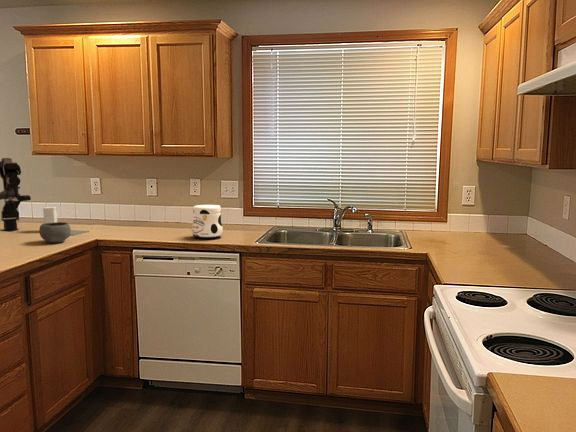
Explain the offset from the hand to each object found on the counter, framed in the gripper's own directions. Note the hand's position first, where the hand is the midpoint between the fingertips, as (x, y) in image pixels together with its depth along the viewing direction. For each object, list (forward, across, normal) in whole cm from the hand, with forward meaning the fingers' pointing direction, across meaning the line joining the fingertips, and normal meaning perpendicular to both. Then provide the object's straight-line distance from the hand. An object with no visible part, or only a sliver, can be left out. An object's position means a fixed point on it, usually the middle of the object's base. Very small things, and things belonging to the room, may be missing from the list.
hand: (14, 212), depth 278 cm
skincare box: (+13, +10, +17) cm, 24 cm away
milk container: (+13, +105, +27) cm, 109 cm away
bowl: (+13, +34, -10) cm, 38 cm away
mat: (+13, +22, +17) cm, 31 cm away
